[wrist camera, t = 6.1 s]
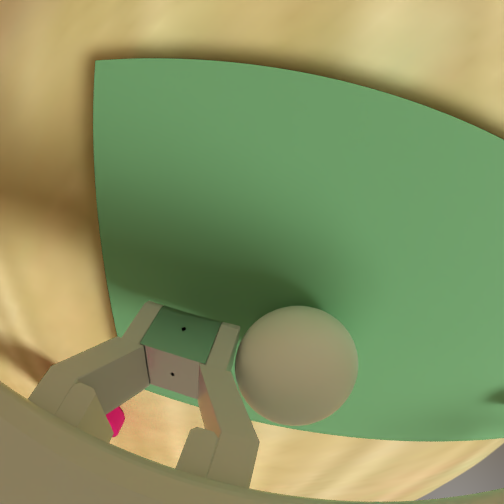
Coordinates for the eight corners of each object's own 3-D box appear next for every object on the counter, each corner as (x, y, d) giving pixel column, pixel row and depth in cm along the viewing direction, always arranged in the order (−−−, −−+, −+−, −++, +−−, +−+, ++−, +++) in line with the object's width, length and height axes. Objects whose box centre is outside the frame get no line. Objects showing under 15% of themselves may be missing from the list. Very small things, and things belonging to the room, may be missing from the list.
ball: (236, 374, 6) (390, 388, 6) (250, 270, 9) (366, 290, 9) (222, 436, 8) (336, 446, 8) (234, 347, 11) (329, 360, 11)
